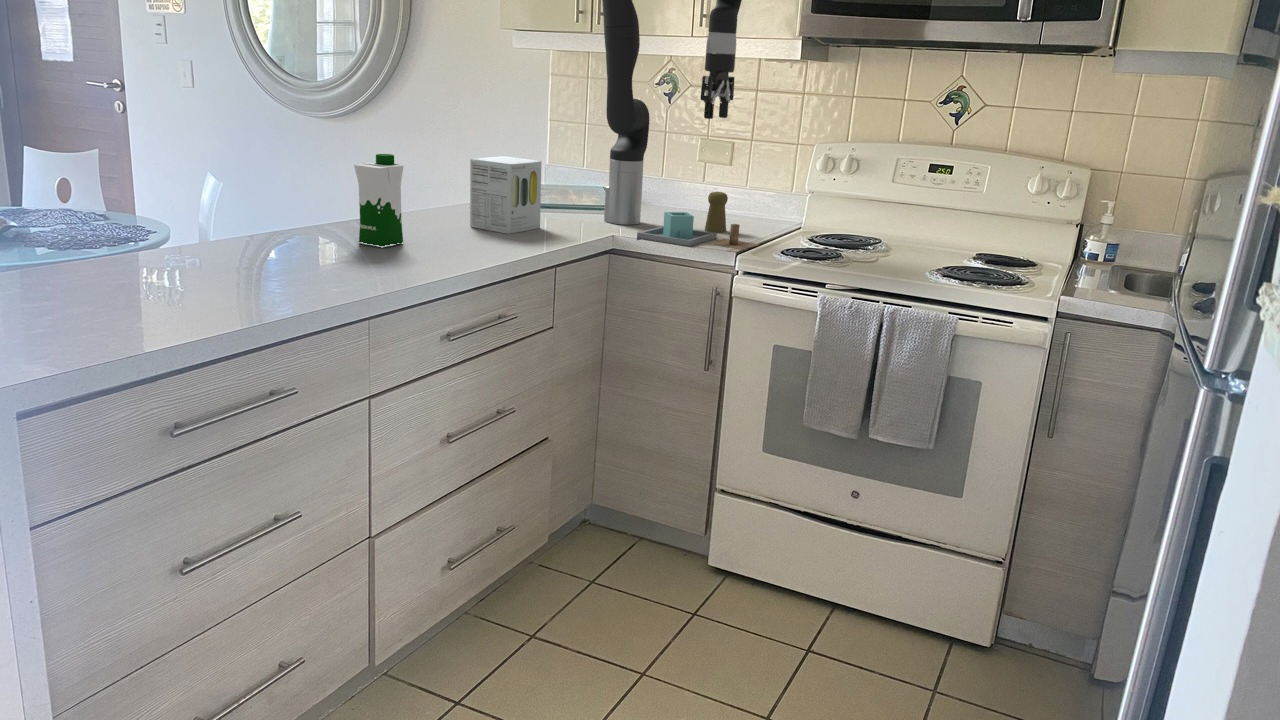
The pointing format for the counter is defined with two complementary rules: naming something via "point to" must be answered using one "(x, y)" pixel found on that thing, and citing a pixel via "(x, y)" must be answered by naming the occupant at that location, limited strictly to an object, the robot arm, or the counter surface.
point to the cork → (716, 213)
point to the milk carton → (380, 201)
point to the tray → (658, 236)
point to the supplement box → (505, 194)
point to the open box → (678, 225)
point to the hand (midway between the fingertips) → (715, 118)
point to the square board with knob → (734, 240)
